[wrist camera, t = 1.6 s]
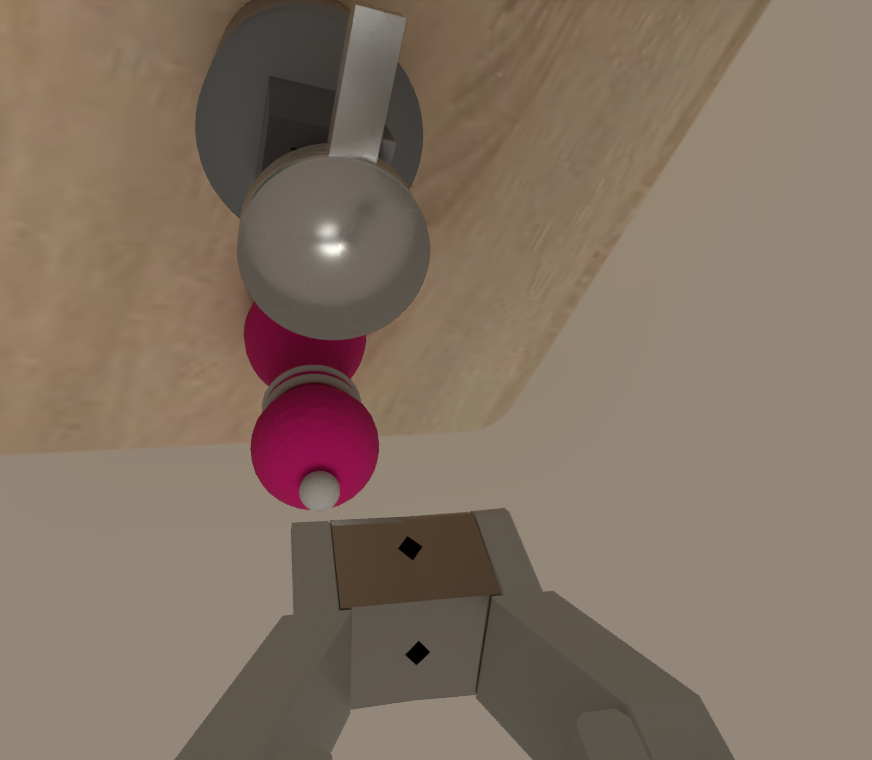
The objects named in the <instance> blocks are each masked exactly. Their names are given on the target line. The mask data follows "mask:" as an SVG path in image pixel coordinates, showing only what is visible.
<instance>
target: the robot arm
mask: <svg viewBox="0 0 872 760" xmlns="http://www.w3.org/2000/svg"><path fill="white" fill-rule="evenodd" d="M291 544H292V546H291V547H292V581H293V615H286V616H282V618H281V619H280V620H279V622H278V623H277V624H276V626H275V627H274V628H273V630H272V631H271V632H270V634H269V635H268V636H267V637H266V639H265V640H264V642H263V643H262V644H261V646H260V647H259V648H258V650H257V651H256V652H255V654H254V655H253V656H252V658H251V659H250V660H249V661H248V663H247V664H246V665H245V667H244V668H243V669H242V671H241V672H240V673H239V675H238V676H237V677H236V679H235V680H234V681H233V683H232V684H231V685H230V687H229V688H228V689H227V691H226V692H225V693H224V695H223V696H222V697H221V699H220V700H219V701H218V703H217V704H216V705H215V707H214V708H213V709H212V711H211V712H210V713H209V715H208V716H207V717H206V719H205V720H204V721H203V723H202V724H201V725H200V727H199V728H198V729H197V730H196V732H195V733H194V734H193V736H192V737H191V738H190V740H189V741H188V742H187V744H186V745H185V746H184V748H183V749H182V751H181V752H180V753H179V754H178V756H177V757H176V758H175V760H332V755H331V752H332V749H333V748H334V745H335V743H336V741H337V739H338V737H339V735H340V733H341V731H342V729H343V727H344V725H345V723H346V721H347V719H348V717H349V715H350V710H351V709H357V708H364V707H371V706H378V705H385V704H392V703H399V702H405V701H412V700H423V699H434V698H445V697H457V696H468V695H476V698H477V700H478V701H479V702H480V703H481V704H482V705H483V706H484V707H485V708H486V709H487V710H488V711H489V713H490V714H491V715H492V716H493V717H494V718H495V719H496V720H497V721H498V722H499V723H500V725H501V726H502V727H503V728H504V729H505V730H506V731H507V732H508V733H509V734H510V735H511V737H512V738H513V739H514V740H515V741H516V742H517V743H518V744H519V745H520V746H521V747H522V749H523V750H524V751H525V752H526V753H527V754H528V755H529V756H530V757H531V758H532V759H533V760H735V759H734V757H733V755H732V754H731V752H730V750H729V748H728V746H727V745H726V743H725V741H724V740H723V738H722V736H721V734H720V732H719V730H718V729H717V727H716V725H715V723H714V721H713V720H712V718H711V716H710V714H709V712H708V711H707V709H706V707H705V705H704V703H703V702H702V700H701V698H700V696H699V695H697V694H696V693H695V692H693V691H692V690H690V689H689V688H688V687H686V686H685V685H684V684H682V683H681V682H679V681H678V680H677V679H675V678H674V677H672V676H671V675H670V674H668V673H667V672H665V671H664V670H663V669H661V668H660V667H658V666H657V665H656V664H654V663H653V662H651V661H650V660H649V659H647V658H646V657H644V656H643V655H642V654H640V653H639V652H638V651H636V650H635V649H633V648H632V647H631V646H629V645H628V644H626V643H625V642H624V641H622V640H621V639H619V638H618V637H617V636H615V635H614V634H612V633H611V632H610V631H608V630H607V629H605V628H604V627H603V626H601V625H600V624H598V623H597V622H596V621H594V620H593V619H592V618H590V617H589V616H587V615H586V614H584V613H583V612H582V611H580V610H579V609H578V608H576V607H575V606H573V605H572V604H571V603H569V602H568V601H566V600H565V599H564V598H562V597H561V596H559V595H558V594H557V593H555V592H554V591H546V592H543V591H542V588H541V586H540V584H539V581H538V579H537V577H536V574H535V572H534V570H533V567H532V565H531V562H530V560H529V558H528V555H527V553H526V550H525V548H524V546H523V543H522V541H521V538H520V536H519V534H518V531H517V529H516V526H515V524H514V522H513V519H512V517H511V515H510V513H509V511H507V510H506V509H505V508H501V509H490V510H479V511H471V512H461V513H448V514H436V515H422V516H409V517H391V518H372V519H371V518H370V519H349V520H330V523H329V522H328V521H321V522H320V521H319V522H297V523H292V527H291Z"/></svg>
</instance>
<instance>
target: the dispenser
mask: <svg viewBox="0 0 872 760" xmlns="http://www.w3.org/2000/svg"><path fill="white" fill-rule="evenodd" d="M349 14H350V10H349V9H348V8H347V7H346V6H345V5H344V4H342V3H341V2H339V1H338V0H251V1H249V2H248V3H247V4H246V5H244V6H243V7H242V8H241V9H240V10H239V11H238V12H237V13H236V14H235V16H234V17H233V18H232V20H231V21H230V23H229V24H228V26H227V28H226V30H225V32H224V34H223V36H222V38H221V41H220V43H219V46H218V48H217V51H216V53H215V56H214V58H213V61H212V63H211V66H210V68H209V71H208V73H207V76H206V78H205V81H204V83H203V86H202V89H201V93H200V96H199V99H198V105H197V111H196V128H195V131H196V140H197V147H198V152H199V156H200V160H201V163H202V165H203V168H204V171H205V173H206V176H207V177H208V179H209V181H210V183H211V185H212V187H213V189H214V190H215V191H216V193H217V194H218V196H219V197H220V198H221V200H222V201H223V202H224V203H225V204H226V206H227V207H228V208H229V209H230V210H231V211H232V212H233V213H234V214H235V215H236V216H238V217H239V218H240V216H241V211H242V206H243V204H244V201H245V198H246V195H247V194H248V192H249V190H250V188H251V186H252V184H253V183H254V182H255V180H256V179H257V177H258V176H259V175H260V174H261V173H262V172H263V171H264V170H265V169H266V168H267V167H268V166H269V165H270V164H271V163H273V162H274V161H275V160H277V159H278V158H280V157H282V156H283V155H285V154H287V153H289V152H291V151H294V150H296V149H298V148H302V147H305V146H309V145H315V144H323V143H327V139H328V134H329V128H330V122H331V116H332V111H333V105H334V99H335V94H336V88H337V82H338V77H339V71H340V65H341V60H342V54H343V48H344V43H345V37H346V31H347V26H348V20H349ZM422 143H423V127H422V117H421V112H420V108H419V103H418V100H417V97H416V94H415V92H414V89H413V87H412V85H411V83H410V81H409V79H408V77H407V75H406V73H405V72H404V70H403V69H402V67H401V66H400V64H399V63H397V68H396V72H395V77H394V82H393V87H392V92H391V96H390V101H389V106H388V111H387V116H386V120H385V125H384V130H383V135H382V139H381V144H380V149H379V154H378V157H379V158H381V159H382V160H383V161H385V162H386V163H387V164H389V165H390V166H391V167H392V168H393V169H394V170H395V171H396V172H397V173H398V174H399V175H400V176H401V178H402V179H403V180H404V182H405V183H406V184H407V186H408V188H409V189H410V187H411V184H412V182H413V180H414V178H415V176H416V173H417V169H418V166H419V163H420V158H421V152H422Z"/></svg>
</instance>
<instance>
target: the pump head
mask: <svg viewBox="0 0 872 760" xmlns="http://www.w3.org/2000/svg"><path fill="white" fill-rule="evenodd" d="M406 20H407V18H406V17H405V16H403V15H402V14H400V13H396V12H392V11H389V10H385V9H381V8H377V7H373V6H370V5H366V4H362V3H358V2H354V1H352V3H351V8H350V14H349V20H348V26H347V31H346V37H345V43H344V48H343V54H342V60H341V65H340V71H339V77H338V82H337V88H336V94H335V99H334V105H333V111H332V116H331V122H330V128H329V134H328V139H327V143H323V144H315V145H309V146H305V147H302V148H298V149H296V150H294V151H291V152H289V153H287V154H285V155H283V156H282V157H280V158H278V159H277V160H275V161H274V162H273V163H271V164H270V165H269V166H268V167H267V168H266V169H265V170H264V171H263V172H262V173H261V174H260V175H259V176H258V177H257V179H256V180H255V182H254V183H253V184H252V186H251V188H250V190H249V192H248V194H247V195H246V198H245V201H244V204H243V206H242V211H241V216H240V224H239V234H238V248H237V254H238V264H239V268H240V273H241V276H242V279H243V282H244V284H245V287H246V288H247V290H248V292H249V294H250V296H251V297H252V299H253V300H254V301H255V303H256V304H257V305H258V307H259V308H260V309H261V310H262V311H263V312H264V313H265V314H266V315H267V316H268V317H270V318H271V319H272V320H273V321H275V322H276V323H278V324H279V325H281V326H283V327H284V328H286V329H288V330H290V331H292V332H295V333H297V334H300V335H303V336H306V337H310V338H315V339H322V340H345V339H351V338H356V337H360V336H363V335H367V334H369V333H372V332H374V331H377V330H378V329H380V328H382V327H384V326H386V325H387V324H389V323H390V322H392V321H393V320H394V319H396V318H397V317H398V316H399V315H400V314H401V313H402V312H404V311H405V310H406V308H407V307H408V306H409V305H410V304H411V302H412V301H413V300H414V298H415V297H416V295H417V294H418V292H419V290H420V288H421V286H422V284H423V282H424V279H425V276H426V273H427V269H428V264H429V256H430V243H429V234H428V230H427V226H426V223H425V220H424V217H423V215H422V213H421V211H420V209H419V207H418V205H417V203H416V201H415V199H414V197H413V195H412V194H411V192H410V190H409V188H408V186H407V184H406V183H405V182H404V180H403V179H402V178H401V176H400V175H399V174H398V173H397V172H396V171H395V170H394V169H393V168H392V167H391V166H390V165H389V164H387V163H386V162H385V161H383V160H382V159H381V158H379V157H378V154H379V149H380V144H381V139H382V135H383V130H384V125H385V120H386V116H387V111H388V106H389V101H390V96H391V92H392V87H393V82H394V77H395V72H396V68H397V63H398V58H399V53H400V49H401V44H402V39H403V34H404V29H405V25H406Z"/></svg>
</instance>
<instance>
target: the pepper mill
mask: <svg viewBox="0 0 872 760" xmlns="http://www.w3.org/2000/svg"><path fill="white" fill-rule="evenodd" d="M244 340H245V347H246V354H247V356H248V358H249V361H250V363H251V365H252V367H253V369H254V371H255V372H256V374H257V375H258V376H259V378H260V379H261V380H262V381H263V382H264V383H265V384H267V385H268V386H269V387H268V389H267V390H266V392H265V395H264V398H263V402H262V414H261V415H260V416H259V418H258V419H257V422H256V425H255V428H254V430H253V433H252V439H251V458H252V463H253V466H254V470H255V473H256V475H257V477H258V478H259V480H260V482H261V483H262V485H263V486H264V487H265V488H266V489H267V491H268V492H269V493H270V494H271V495H273V496H274V497H275V498H277V499H278V500H280V501H281V502H283V503H285V504H287V505H290V506H293V507H296V508H299V509H306V510H313V511H317V512H318V511H320V512H322V511H326V510H328V509H330V508H332V507H335V506H338V505H340V504H343V503H344V502H346V501H347V500H349V499H351V498H353V497H354V496H355V495H356V494H357V493H358V492H359V491H361V490H362V489H363V488H364V486H365V485H366V484H367V482H368V481H369V480H370V478H371V476H372V474H373V472H374V470H375V467H376V463H377V459H378V454H379V441H378V433H377V429H376V426H375V423H374V421H373V419H372V416H371V415H370V413H369V412H368V411H367V409H366V408H365V407H364V405H363V404H362V403H361V399H360V395H359V392H358V390H357V388H356V386H355V385H354V383H353V382H352V381H351V380H350V379H351V378H352V376H353V375H354V374H355V372H356V370H357V369H358V367H359V365H360V362H361V360H362V357H363V354H364V351H365V345H366V335H363V336H360V337H356V338H351V339H345V340H322V339H315V338H310V337H306V336H303V335H300V334H297V333H295V332H292V331H290V330H288V329H286V328H284V327H283V326H281V325H279V324H278V323H276V322H275V321H273V320H272V319H271V318H270V317H268V316H267V315H266V314H265V313H264V312H263V311H262V310H261V309H260V308H259V307H258V305H257V304H256V303H255V301H254V303H253V305H252V307H251V308H250V310H249V312H248V315H247V317H246V321H245V326H244Z"/></svg>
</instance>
